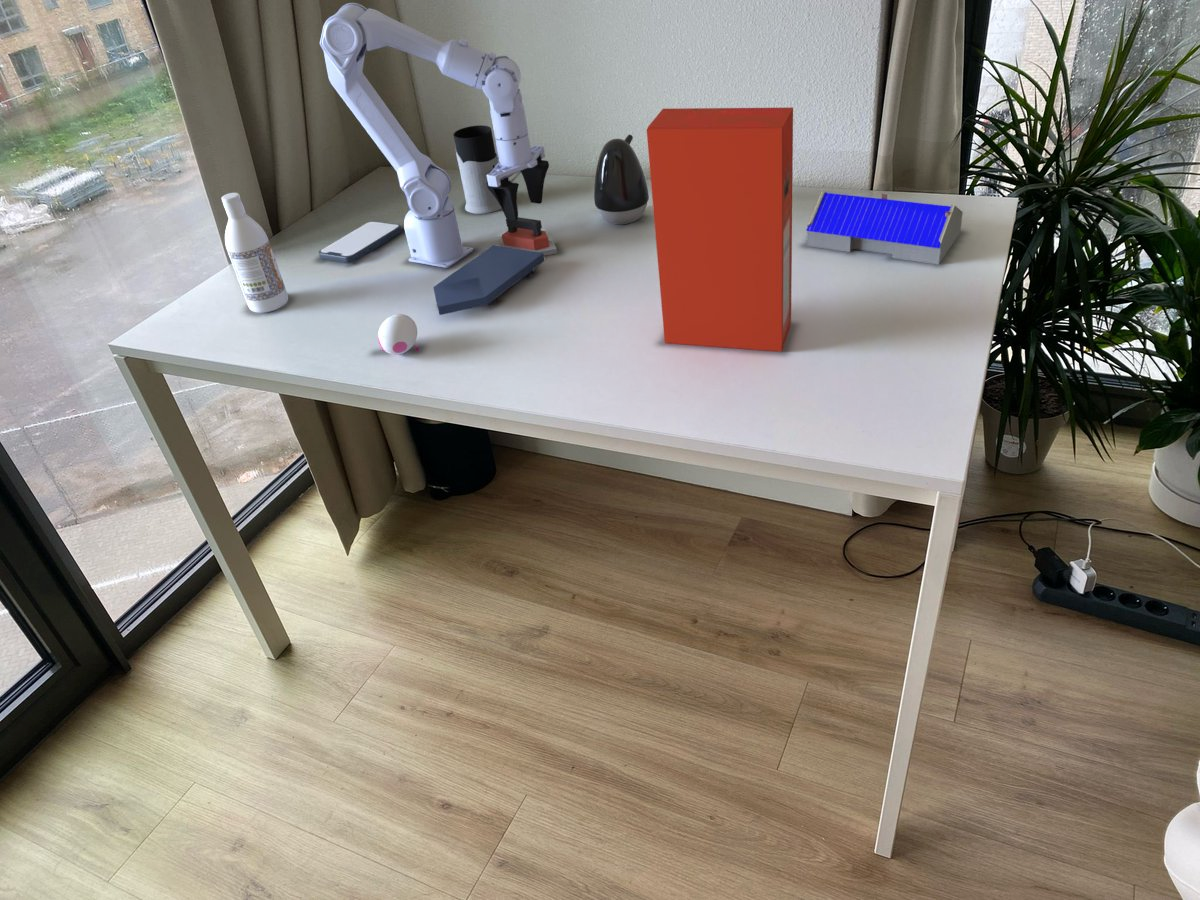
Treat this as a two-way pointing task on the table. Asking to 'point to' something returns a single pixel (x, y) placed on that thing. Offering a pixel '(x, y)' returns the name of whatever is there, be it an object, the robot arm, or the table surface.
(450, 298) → the ironing board
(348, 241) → the smartphone with white screen
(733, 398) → the table surface
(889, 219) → the blue roofed model house
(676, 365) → the table surface
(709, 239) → the file binder
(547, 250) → the iron
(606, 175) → the black egg-shaped figure
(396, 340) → the stress ball
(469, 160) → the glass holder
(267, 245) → the bath foam
